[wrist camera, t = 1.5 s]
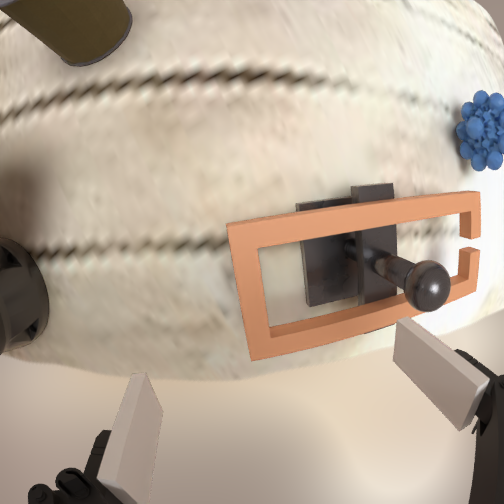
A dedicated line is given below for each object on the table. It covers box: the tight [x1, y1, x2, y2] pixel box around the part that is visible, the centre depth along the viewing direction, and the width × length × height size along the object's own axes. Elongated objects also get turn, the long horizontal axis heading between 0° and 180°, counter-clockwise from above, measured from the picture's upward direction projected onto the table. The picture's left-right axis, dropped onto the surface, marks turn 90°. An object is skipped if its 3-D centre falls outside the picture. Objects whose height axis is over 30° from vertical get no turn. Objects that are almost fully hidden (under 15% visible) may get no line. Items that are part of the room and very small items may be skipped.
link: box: [226, 191, 481, 361], centre depth 25 cm, size 28×12×2 cm, turn 99°
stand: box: [296, 183, 451, 334], centre depth 25 cm, size 12×15×17 cm
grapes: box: [456, 90, 504, 171], centre depth 26 cm, size 12×7×12 cm, turn 6°
